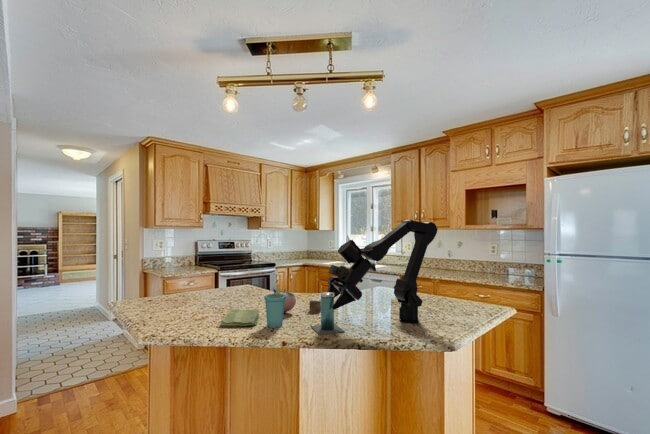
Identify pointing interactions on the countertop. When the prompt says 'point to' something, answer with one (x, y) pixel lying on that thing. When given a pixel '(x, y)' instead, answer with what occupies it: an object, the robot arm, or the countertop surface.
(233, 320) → the washcloth
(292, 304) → the decorative fruit
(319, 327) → the mat
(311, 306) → the letter block
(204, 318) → the countertop surface
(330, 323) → the tin
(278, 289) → the cup
